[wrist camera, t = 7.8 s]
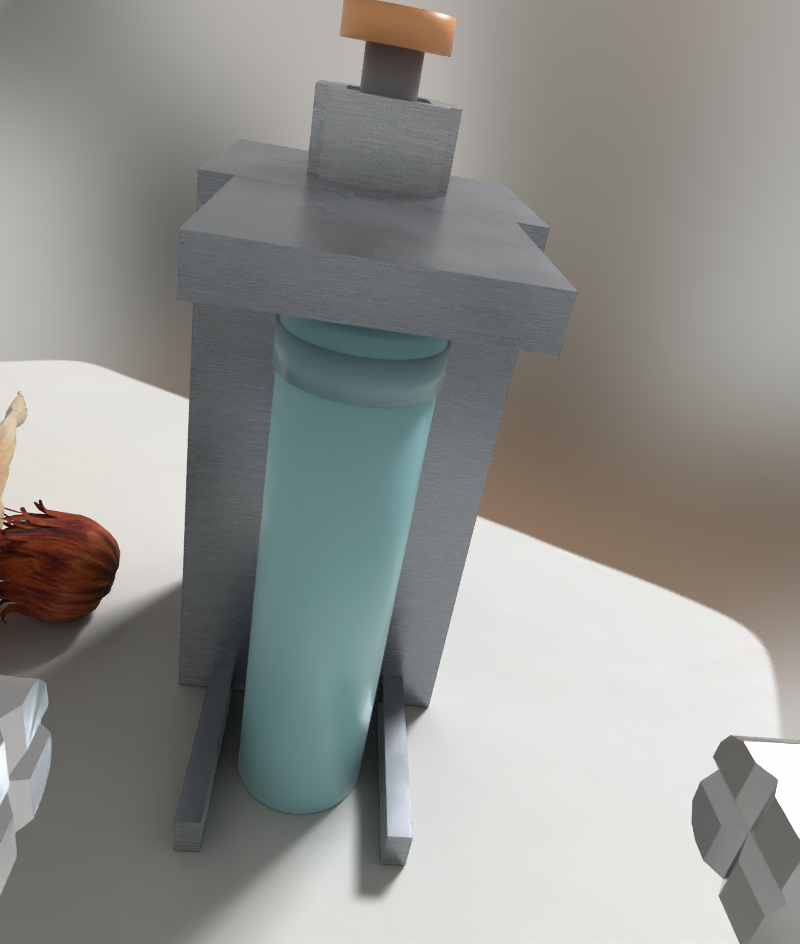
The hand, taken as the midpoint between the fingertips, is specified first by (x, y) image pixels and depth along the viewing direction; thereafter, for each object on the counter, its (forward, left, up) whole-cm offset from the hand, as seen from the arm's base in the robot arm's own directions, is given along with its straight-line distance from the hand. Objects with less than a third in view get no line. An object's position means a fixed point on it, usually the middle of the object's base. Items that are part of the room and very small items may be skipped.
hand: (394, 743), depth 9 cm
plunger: (0, +20, +4) cm, 20 cm away
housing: (0, +16, -16) cm, 22 cm away
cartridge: (0, +13, -16) cm, 20 cm away
